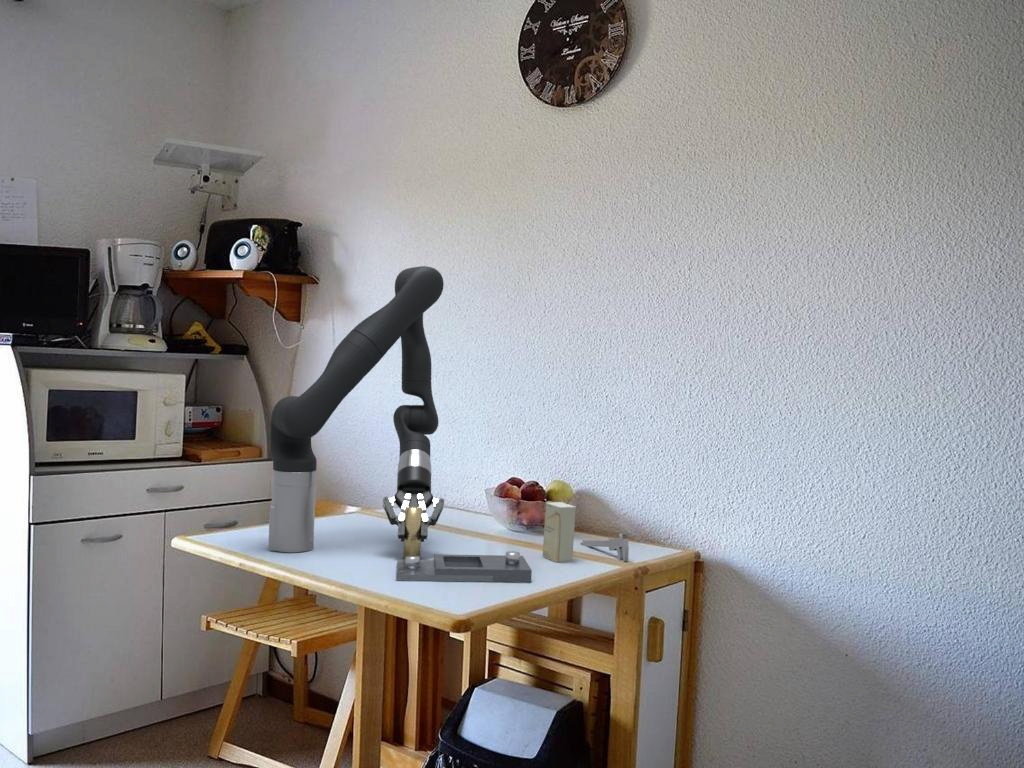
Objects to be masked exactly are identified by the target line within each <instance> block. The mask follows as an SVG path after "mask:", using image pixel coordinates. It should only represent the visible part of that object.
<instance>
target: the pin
mask: <svg viewBox="0 0 1024 768" xmlns="http://www.w3.org/2000/svg"><path fill="white" fill-rule="evenodd" d="M421 523H422V507H420V506H406V507H405V534H404V541H403V553H402V560H405V558H406V556H409V555H415V556H419V557H420V558H421V549H422V548H421V547H422V546H421V544H422V542H421Z"/></svg>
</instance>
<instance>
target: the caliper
mask: <svg viewBox="0 0 1024 768" xmlns="http://www.w3.org/2000/svg"><path fill="white" fill-rule="evenodd" d="M618 536H619V537H618V538H617V537H616V538H608V540H604V539H602V540H601V539H596V540H595V539H594V540H593V539H586V540H583V539H582V542H580V545H583V546H584V547H594V548H595V547H601V548H602V547H603V548H608V551H616V553H617V558H618V561H620V560H621V561H626V562H628V561H629V554H630V552H629V549H630V548H629V539H628V538H627V534H626V533H619V535H618Z"/></svg>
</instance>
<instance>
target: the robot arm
mask: <svg viewBox="0 0 1024 768" xmlns="http://www.w3.org/2000/svg"><path fill="white" fill-rule="evenodd" d="M444 285H445V282H444V278H443V276H442V273H441V272H439V270H438V269H437V268H434V267H431V266H426V265H424V266H423V265H422V266H421V265H420V266H415V267H408V268H405V269H403V270H401V271H400V272H399V273H398V274H397V276H396V278H395V281H394V293H395V294H394V297H392V299H391V300H389V302H388V303H387V304H385V305H384V306H383V307H381V308H380V309H378V310H377V311H374V312H373V313H372V314H371V315H368V317H366V318H365V319H363V320H362V321H361V322H359V323H358V324H357V325H355V327H354V328H352V330H351V331H349V333H348V334H346V336H345V337H344V338H343V339H342V340H341V341H340V343H338V345H337V346H336V347H335V349H334V351H333V353H332V354H331V356H330V358H329V360H328V362H327V364H326V367H325V368H324V371H323V372H322V373H321V375H319V377H318V378H317V379H316V380H315V382H313V383H312V384H311V385H310V386H309V387H308V388H307V389H305V391H304V392H303V393H302V394H300V395H299V396H296V395H295V396H294V395H290V396H285V397H282V398H281V399H279V400H278V401H277V402H276V403H275V404H274V406H273V409H272V412H271V416H270V417H271V418H270V455H271V459H272V483H271V484H272V486H271V487H272V488H271V489H272V490H271V492H272V493H271V505H270V507H269V517H268V518H269V522H268V523H269V524H268V546H267V551H274V552H280V553H301V552H302V553H303V552H308V551H311V550H313V549H314V541H315V538H314V537H315V536H314V535H315V519H316V518H315V513H316V512H315V511H316V492H317V457H316V455H315V453H314V451H313V447H312V438H313V437H314V436H316V435H317V434H318V433H320V431H321V429H323V428H324V426H325V425H326V423H327V421H328V420H329V419H330V418H331V416H332V415H333V413H334V412H335V410H336V409H337V408H338V407H339V406H340V404H341V403H342V401H343V400H344V399H345V398H346V397H347V396H348V395H349V394H350V393H351V392H352V391H353V390H354V389H355V388H356V386H358V384H359V383H360V382H361V381H362V380H363V379H364V378H365V377H366V376H367V375H368V373H369V372H371V371H372V370H373V369H374V367H376V366H377V364H378V363H379V362H380V361H381V360H382V358H383V357H385V355H386V354H387V353H388V352H389V350H390V349H391V348H392V347H393V346H394V345H395V344H396V343H397V341H399V339H400V341H401V342H400V343H401V390H402V393H404V394H406V395H410V396H414V397H417V398H418V399H419V398H420V399H421V401H422V402H423V403H422V404H402V405H400V406H399V405H398V407H397V408H396V409H395V410H394V413H393V418H392V419H393V420H392V421H393V424H394V429H395V432H396V434H397V436H398V437H397V438H398V440H399V441H398V442H399V456H398V457H399V459H398V464H397V473H396V474H397V476H396V477H397V479H396V481H397V482H396V493H395V494H394V496H392V497H389V496H383V499H382V507H383V509H384V512H385V515H386V516H387V519H388V521H389V524H390V525H391V526H394V525H396V527H397V529H398V530H397V537H398V539H399V540H400V542H404V534H405V507H406V506H420V507H422V523H421V543H424V542H425V540H427V539H428V532H429V531H428V529H429V527H430V526H431V527H434V526H436V525H437V523H438V521H439V518H440V516H441V514H442V513H443V510H444V507H445V498H442V497H441V498H439V499H438V498H435V497H434V496H433V494H432V464H431V462H432V461H431V441H430V438H429V437H428V436H427V435H433V434H434V433H435V432H436V431H437V429H438V427H439V416H438V412H437V408H436V405H435V400H434V397H433V390H432V355H431V352H430V347H429V345H428V341H427V340H428V339H427V337H426V333H425V327H424V313H425V312H427V311H428V310H429V309H430V308H431V307H432V306H433V305H434V304H436V303H437V301H439V299H440V297H441V295H442V294H443V291H444ZM394 504H396V506H397V507H398V508H399V509H400V513H399V515H398V516H397V515H396V513H395V511H394ZM431 505H433V509H434V510H433V512H432V514H431V515H430V516H429V517H428V513H427V509H429V507H430V506H431Z"/></svg>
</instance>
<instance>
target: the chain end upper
mask: <svg viewBox="0 0 1024 768" xmlns="http://www.w3.org/2000/svg"><path fill="white" fill-rule="evenodd" d="M433 560H434V564H435V571H436V575H475V576H493V582H492V583H532V574H533V573H532V571H533V569H532V568H531V566H530V565H529V563H528V562H527V560H526V559H525V557H524V555H521V553H520V551H516V550H515V551H514V550H510V551H509V550H507V551H506V552H505V555H498V554H495V555H493V554H492V555H490V554H487V555H486V554H484V555H483V554H445V553H444V554H442V553H441V554H440V553H439V554H435V553H434V554H433ZM444 562H467V563H480V566H481V567H445V564H444Z"/></svg>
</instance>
